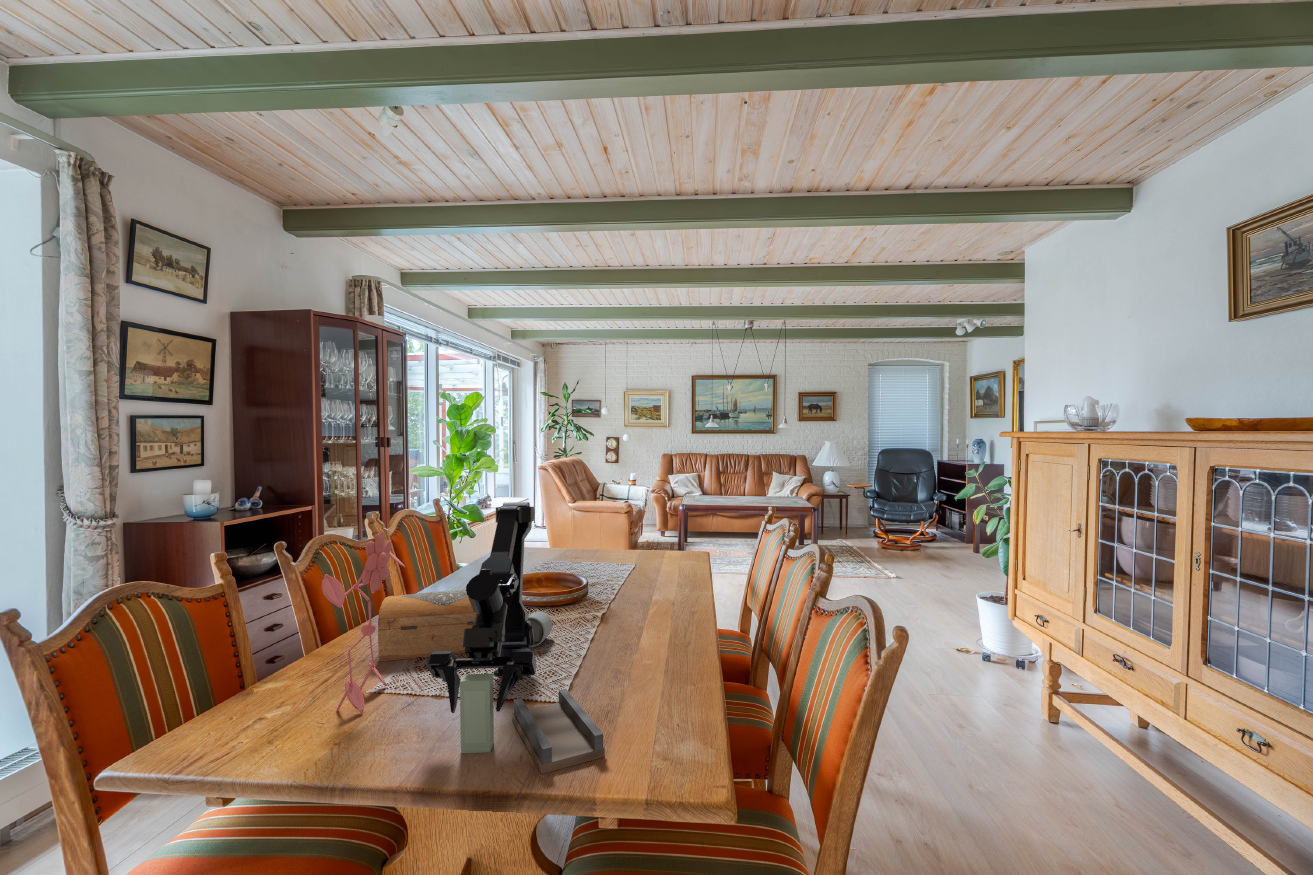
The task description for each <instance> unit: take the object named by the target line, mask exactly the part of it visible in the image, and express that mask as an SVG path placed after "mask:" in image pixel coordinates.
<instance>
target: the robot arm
mask: <svg viewBox="0 0 1313 875" xmlns="http://www.w3.org/2000/svg"><path fill="white" fill-rule="evenodd" d="M535 514H536V512H535V506H531V504H530V502H529V501H521V502H520V501H516V502H515V501H513V502H510V501H509V502H503V503H502V505H501V506H498V507H495V523H497V524H496V527H495V533H494V537H493V541H492V545H491V550H490V553H489V557H487V558H486V559H485V560H484V561H483V562H482V563H481V566H480V569H479V573H478V574H476V575H474V576H473V577H472V578H470V580H469V581H468V582H467V584H466V585H465V590H466V593H467V595H468V598H469V601H470V603H471V606H472V608H473V611H474V612H476V616H475V622H474V625H473V626H472V628H467V629H464V637H463V648H465V653H464V654H466V655H467V657H456V656H455V654H453V652H452V651H433V652H432V653H431V654H430V655H429V657H427V661H426V667H427V670H429V672H430V674H431V676H432V677H433V678H435V679H441V680H442V681H443V682H444V683H446V685H447V691H448V698H449V699H448V700H449V708H450V712H451V714H455V713H456V709H457V705H458V700H459V699H458V698H459V694H460V681H461V678H460V676H459V674H458V672H459V670H475V669H481V670H482V669H495V671H493V675H497V676H501V677H502V678H501V682H500V686H499V690H498V694H497V699H496V707H495V710H496V713H499V712H500V711H501V709H502V707H503V705H504V704H505V702H506V700H507V698H508V696H509V695H510V692H511V691H512V690H513V688H514V687H515V686H516V684H517V683H518V681H523V680H524V677H525V676H534V675H536V672H537V671H536V670H537V660H536V656H535V652H534V650H532V648H531V647H530V646H531V645H534V633H533V627H532V626H531V623H530V621H528V616H529V613H528V611H527V609H526V607H525V606H524V603H523V581H524V580H523V578H524V556H525V555H524V554H525V540H526V538H527V537H528V535H529V534H530V532H531V530H532V526H533V522H534V521H535ZM502 597H503V598H502ZM525 637H526V638H525Z"/></svg>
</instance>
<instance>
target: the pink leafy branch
mask: <svg viewBox="0 0 1313 875" xmlns="http://www.w3.org/2000/svg"><path fill="white" fill-rule="evenodd" d="M385 540H386V538H385V532H384V530H381V531H380V533H377V534H376V536H375V537H374V541H372V540H369V541H368V542H367V543H366V544H365V554H366V556H367V559H366V562H365V564H364V569H363V571H362V573H361V575H360V577H359V578H358V580H357V582H356V583H354V584H353V586H352V587H350V588H349V589H348V590H347V591H346V592H345V587H344V586H343V584H342V583H341V581H339V580H338V579H337V578H336V577H334V576H331V575H329V574H328V573H326V574H324V575H323V579H322V580H321V590H322V593H323V595H324V596H325V599H327V601H329V602H330V603H331V604H333V605H334V606H335V607H338V608H339V609H342V608H343V605H344V602H345V598H346V597H347V596H349V594H350V593H351V592H352V591H354V590H357V591H358V592H359V594H361V596H363V598H364V599H365V600H366V601H367V610H368V622H366V623H363V625H362V626H361V628H360V632H361V634H362V637H360V638H359V639H358V640H357V641H356V642H355V644H353V645H352V646H351V647H349V649H348V650H347V658H348V666H349V667H348V669H349V679H347V680H346V682H345V683H344V688H345V691H344V694H343V697H342V698H341V700H340V701H339V702H338V705H337V707H336V711H340V709H341V707H342V706H343V703H344V702H345V700H346V697H347V700H348V702H349V703H350V704H351V706H352V707H353V708H354V709H356V710H358V712H360V714H363V713H364V711H365V698H364V697H365V696H364V694H363V691H362V689H364V688H363V687H364V686H365V684H366V683H367V681H368V679H369V676H370V674H371V672H373V673H374V675H375V676H376V677H377V678H378V680H379V681H380V682H381V683H382V684H383V685H384V686H385V687H387V686H388V683H387V682H386V681H385V679H384V678H383V676H382V675H381V674H380V672H379V670H378V669H377V668H376V665H375V661H374V660H375V659H374V650H373V642H372V635H373V634H374V633H375V632H376V630H377V629H376V625H375V624H374V623H373V622H372V601H371V599H370V597H369V596H368V595H366V593H364V591H362V589H360V587H363V586H365V585H368V584H369V587H370V592H371V594H375V593H376V591H379V590H380V587H381V581H384V580H387V579H388V578H389V576H390V569H389V567H388V563H389V560H390V558H392V560H394V562H396V564H398V565H399V566H401V567H403V568H404V569H405V568H406V566H405V564H404V563H403V562H402V561H401V560H400V559H399V558H398V557H397V556H396V555H395V554H394V553H392V552H391V549H392V541H391V540H390V539H388V540H387V541H385ZM366 637H368V639H369V646H370V655H371V662H368V665H369V667H370V668H369V669H368V671H367V673H366V675H365V676H364V679H363V681H362V683H361V684H360V685H359V684H358V683H357V682H356V681H355V680H353V673H352V660H351V651H353V649H354V648H355V647H356V646H357V645H358V644H359V643H360V642H361V641H362V640H363V639H364V638H366ZM413 680H414V679H412V681H413ZM415 681H416V680H414V682H415ZM417 685H420V683H419V682H417ZM421 685H422V687H424V686H423V684H421ZM421 696H422V695H419V696H417V697H416V698H415V699H414V700H413V701H411V702H410V703H409V704H407V705H406V706H404V707H402V708H401V710H403V709H405V708H407V707H408V706H411V704H413V703H414V702H415V701H416V700H417V699H418V698H421ZM315 723H316V724H319V725H320V724H322V725H325V723H323V722H319V721H318V722H315Z"/></svg>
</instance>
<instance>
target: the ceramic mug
mask: <svg viewBox="0 0 1313 875" xmlns="http://www.w3.org/2000/svg"><path fill="white" fill-rule="evenodd" d="M528 621H530V623H531V626H532V627H533V633H534V645H531V646H530V647H529V648H536V647H538V646H539V645H541V644H542V643H543V642H544V641H545V639H547V637H548V636H550V635H551V632H552V629H553V621H552V618H551V616H550V615H549V614H548V613H546V612H543V611H535V612H532V613H531V614H530V615H528ZM525 638H526V637H525Z"/></svg>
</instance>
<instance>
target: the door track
mask: <svg viewBox="0 0 1313 875" xmlns="http://www.w3.org/2000/svg"><path fill="white" fill-rule="evenodd" d="M512 703H513V712H512V715H511V716H512V717H511V720H512V723H513V724H514V726H515V728H516V730H517V732H518V733H519V735H520V737H521V740H522V741H523V743H524V744H525V746H526V749H527V750H528V752H529V754H530V755H531V757H532V760H533V761H534V762H535V765H536V767H537V768H538V770H539V771H540V774H541V775H543V774H547V773H550V772H551V773H552V772H554V771H558V770H562V769H565V768H568V767H569V768H570V767H572V766H576V765H580V764H583V763H587V762H590V761H593V760H597V759H601V758H604V757H606V754H605V753H606V748H605V746H604V733H603V732H602V730H601V729H600V728H599V727H598V725H597V724H596V723H595V722H594V720H592V718H591V717H590V716H589V715H588V713H587V712H586V711H585V710H584V709H583V707H582V706H581V705H580V703H578V701H577V700H576V699H575V698H574V697H573V695H572V694H571V693H570V691H568V689H567V688H563V689H562V688H561V689H558V702H555V703H551V704H546V705H543V706H538V707H534V708H533V707H532V708H528V707H527V705H526V703H525V701H524V700H523V698H522V697H520V698H515V699H513V702H512Z"/></svg>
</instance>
